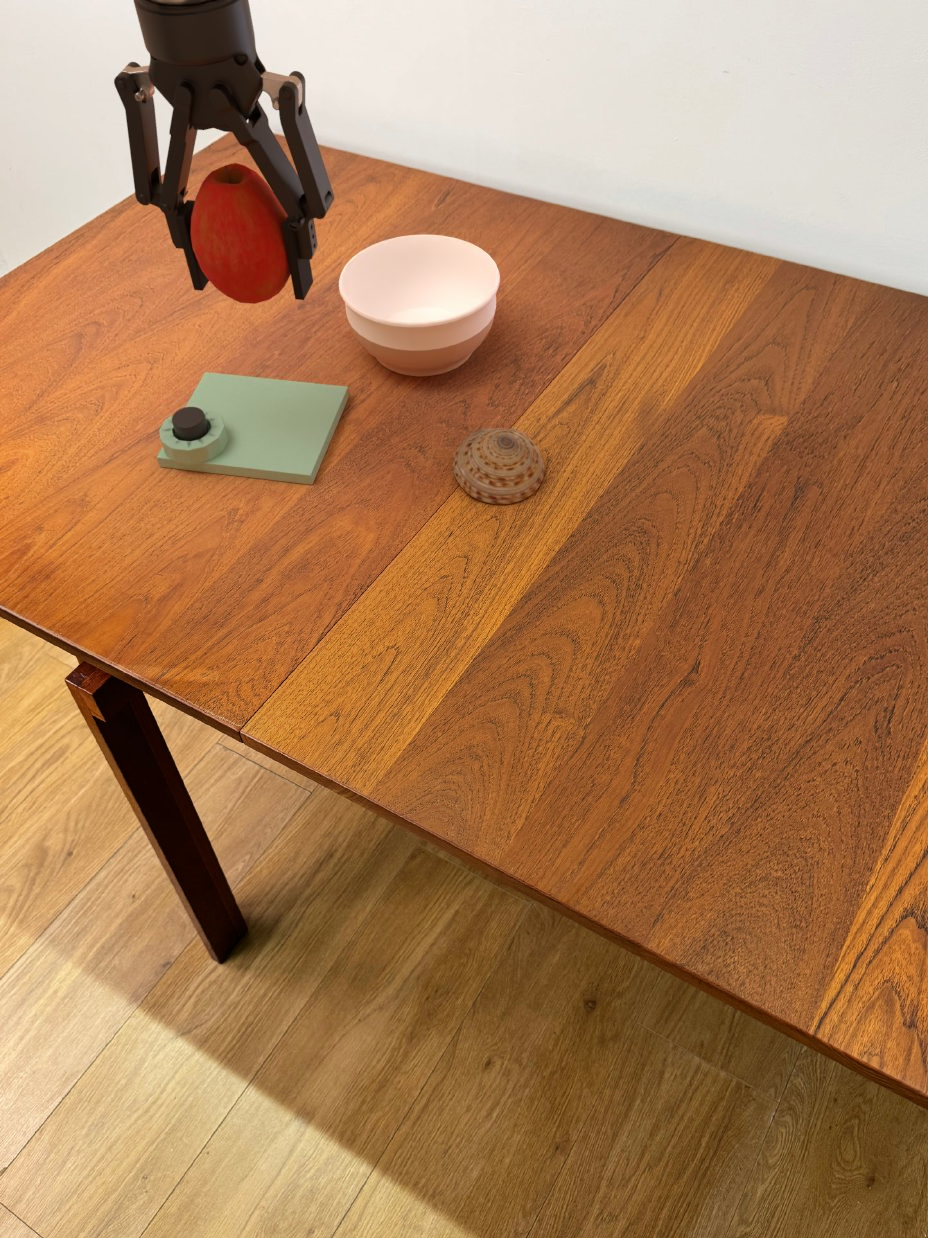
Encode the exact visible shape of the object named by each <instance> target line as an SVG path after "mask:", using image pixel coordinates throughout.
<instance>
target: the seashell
mask: <svg viewBox="0 0 928 1238" xmlns="http://www.w3.org/2000/svg"><path fill="white" fill-rule="evenodd" d="M452 471H453V475H454V477H455V479H456V481H457V483H458V485H459V486H460V487H461V488H462V489H463V490H464V491H465V492H466V493H467V494H468V495H469V496H471V497H472V498H474V499H476V500H478V501H481V502H483V503H487V504H492V505H509V504H514V503H518V502H521V501H523V500H526V499H528V498H529V497H531V496H532V495H533V494H534V493H535V492H536V491H537V490H538V488H539V487H540V486H541V484H542V481H543V480H544V476H545V462H544V458H543V455H542V453H541V451H540V449H539V448H538V446H537V445H536V443H535V442H534V441H533V439H532V437H530V436H529V435H528V434H526V433H524V432H523V431H521V430H520V429H517V428H515V429H514V428H509V427H507V428H506V427H500V428H499V427H498V428H482V429H479V430H477V431H475V432H473V433H471V434H470V435H469V436H467V437H466V438H465V439H463V440H462V442H461V443H460V444H459V445H458V447H457V449H456V451H455V453H454V455H453V460H452Z"/></svg>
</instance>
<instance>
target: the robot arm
mask: <svg viewBox="0 0 928 1238" xmlns="http://www.w3.org/2000/svg"><path fill="white" fill-rule="evenodd" d="M133 4H134V8H135V12H136V16H137V19H138V23H139V28H140V32H141V35H142V39H143V42H144V46H145V49H146V51H147V52H148V53H149V60H150V61H149V65H143V66H142V65H140V64H139V63H138V62H136V61H129V62H128V63H127V65H126V66H125V67H124V68H123V69H122V70H121V71H120V72H119V73H118V74H117V75H116V76H115V77H114V80H113V84H114V87H115V89H116V91H117V94H118V96H119V99H120V102H121V104H122V106H123V108H124V110H125V121H126V127H127V136H128V144H129V153H130V163H131V170H132V178H133V184H134V195H135V200H136V201H137V202H138V203H139V204H140V205H142V206H146V207H147V206H149V205H151V206H155V207H157V208H159V209H160V211H161V213H162V214H164V218H165V221H166V224H167V228H168V231H169V235H170V239H171V243H172V244H173V245H174V247H175V249H179V250H180V249H181V250H182V251H183V253H184V257H185V260H186V264H187V268H188V272H189V276H190V279H191V282H192V287H193V290H194V291H201V292H203V291H204V290H205V288H206V286H207V285H208V283H209V282H210V281H209V280H208V279H207V277H206V276H205V274H204V273H203V272H202V270H201V268H200V265H199V263H198V260H197V258H196V256H195V253H194V251H193V247H192V241H191V216H192V212H193V207H194V203H195V199H194V200H191V199H187V200H186V201H185V198H186V196H187V195H188V193H189V190H187V188H188V182H189V179H190V178H189V177H190V173H191V166H192V161H193V156H194V151H195V147H196V141H197V135H198V131H206V130H210V129H211V130H212V129H216V130H217V131H218V130H219V131H221V132H224V133H232V135H233V136H234V137H235V139H236V140H237V142H238V143H239V145H240V146H241V147H244V148H245V149H246V150H247V152H248V153H249V155H250V156H251V158H252V160H253V162H254V163H255V165H256V166H257V168H258V170H259V171H260V173H261V175H262V176H263V179H265V182H266V183H267V184H268V185H269V187H270V188H271V190H272V191H273V192H274V194H275V196H276V197H277V199H278V201H279V202H280V204H281V206H282V207H283V209H284V210H285V212H286V214H287V215H288V216H287V218H286V220H285V221H284V223H283V225H282V230H283V235H284V241H285V246H286V252H287V257H288V263H289V268H290V273H291V274H290V277H291V285H292V290H293V295H294V299H295V300H298V301H305V299H306V297H307V295H308V293H309V291H310V289H311V288H312V286H313V283H314V277H313V272H312V265H311V260H312V259H313V257H314V256H315V254H316V252H317V249H318V246H319V245H318V237H317V231H316V226H315V224H316V223H315V219H317V220H322V219H324V218H325V217H326V215H327V214H328V212H329V210H330V209H331V206H332V204H333V203H334V202H335V201H334V200H335V194H334V190H333V187H332V185H331V184H332V183H331V181H330V178H329V175H328V172H327V169H326V166H325V162H324V160H323V155H322V153H321V150H320V147H319V143H318V140H317V137H316V134H315V131H314V128H313V124H312V122H311V119H310V116H309V113H308V109H307V106H306V78H305V75H304V74H303V73H302V72H301V71H298V70H293V71H291V72H290V73H289V74H288V75H284V74H280V73H276V72H273V71H272V72H271V71H268V70H267V69H266V67H265V65H264V63H263V62H262V61H261V59H260V56H259V54H258V52H257V48H256V46H257V45H256V37H255V30H254V29H255V28H254V25H253V18H252V13H251V7H250V1H249V0H133ZM155 89H156V90H157V91H158V92H159V94H160V95H161V96H162V97H163V98H164V99H165V100H166V101H167V103H168V104H169V105H170V106H171V107H172V113H171V120H170V125H169V132H168V133H169V136H170V138H169V144H168V150H167V154H166V155H167V156H166V162H165V168H164V174H163V180H162V169H161V161H160V160H161V158H160V149H159V138H158V137H159V136H158V127H157V118H156V107H155V100H154V95H155V92H156V90H155ZM263 92H264V93H266V94H267V95H268V96H269V98H270V101H271V105H272V109H274V110H275V111H278V115H279V117H278V118H279V122H280V126H281V129H282V133H283V135H284V138H285V141H286V144H287V147H288V150H289V153H290V155H291V158H292V162H293V163H294V165H292V162H291V161H290V160H289V157H288V156H287V154H286V152H285V151H284V149H283V148H282V146H281V144H280V142H279V140H278V139H277V137H276V135H275V134H274V132H273V130H272V129H271V127H270V124H269V118H268V115H267V113H266V111H265V110H264V108H263V107H262V104H260V101H259V99H260V97H261V95H262V94H263ZM294 167H295V168H294Z"/></svg>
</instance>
